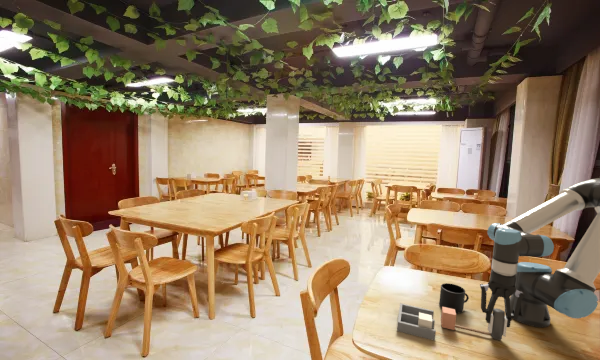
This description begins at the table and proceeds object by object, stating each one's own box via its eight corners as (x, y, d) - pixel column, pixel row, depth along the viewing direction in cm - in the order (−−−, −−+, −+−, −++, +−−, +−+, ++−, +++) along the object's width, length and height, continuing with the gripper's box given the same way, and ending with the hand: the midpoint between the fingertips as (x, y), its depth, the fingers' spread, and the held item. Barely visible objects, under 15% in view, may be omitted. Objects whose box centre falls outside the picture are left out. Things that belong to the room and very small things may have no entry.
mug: (473, 314, 123) (476, 294, 122) (445, 313, 123) (447, 293, 122) (461, 302, 133) (463, 283, 132) (435, 301, 132) (437, 282, 131)
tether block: (500, 334, 109) (503, 309, 107) (503, 341, 104) (506, 315, 103) (440, 320, 116) (443, 297, 115) (441, 327, 112) (443, 302, 111)
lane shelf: (432, 318, 119) (433, 310, 118) (434, 340, 105) (435, 331, 104) (399, 310, 123) (400, 303, 123) (396, 330, 110) (397, 321, 109)
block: (430, 330, 111) (431, 315, 110) (430, 336, 107) (432, 321, 106) (417, 326, 113) (419, 312, 112) (417, 333, 108) (419, 318, 108)
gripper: (528, 272, 105) (520, 333, 107) (475, 263, 111) (469, 321, 114) (535, 280, 98) (527, 345, 100) (478, 271, 104) (472, 332, 107)
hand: (496, 332), depth 107 cm, fingers closed on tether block, 3 cm apart
